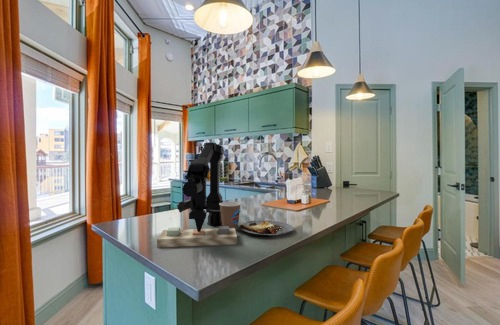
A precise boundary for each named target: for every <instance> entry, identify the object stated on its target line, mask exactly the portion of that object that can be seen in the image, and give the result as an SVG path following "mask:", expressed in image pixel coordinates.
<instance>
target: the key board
mask: <svg viewBox="0 0 500 325" xmlns="http://www.w3.org/2000/svg"><path fill="white" fill-rule="evenodd" d="M167 230H168V229H163V230H162V231H161V233H160V235H159V236H158V237H157V238H156V247H157V248H171V247H173V248H174V247H176V248H177V247H199V246H223V245H225V246H227V245H228V246H229V245H237V244H238V235H237V231H236V230H235V228H229V234H218V228H201V230H205V235H193V231H194V230H197V228H195V229H192V228H191V229H189V228H188V229H180V235H179V236H167Z"/></svg>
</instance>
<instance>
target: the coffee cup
mask: <svg viewBox="0 0 500 325" xmlns="http://www.w3.org/2000/svg"><path fill="white" fill-rule="evenodd" d="M219 205H220V211H221V220H222V225H221V226H229V228H235V231H236V230H237V229H238V228H239V222H240V213H241V212H240V211H241V205H242V203H241V202H239V201H238V202H237V201H223V202H222V203H220V204H219Z"/></svg>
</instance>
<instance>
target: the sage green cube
mask: <svg viewBox="0 0 500 325" xmlns="http://www.w3.org/2000/svg"><path fill="white" fill-rule="evenodd" d="M166 230H167V236H179V235H180V230H181V227H179V226H178V227H168V228H167V229H166Z"/></svg>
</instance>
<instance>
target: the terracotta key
mask: <svg viewBox="0 0 500 325" xmlns="http://www.w3.org/2000/svg"><path fill="white" fill-rule="evenodd" d="M193 235H205V230H201V231H200V232H198V231H197V230H194V231H193Z"/></svg>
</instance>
